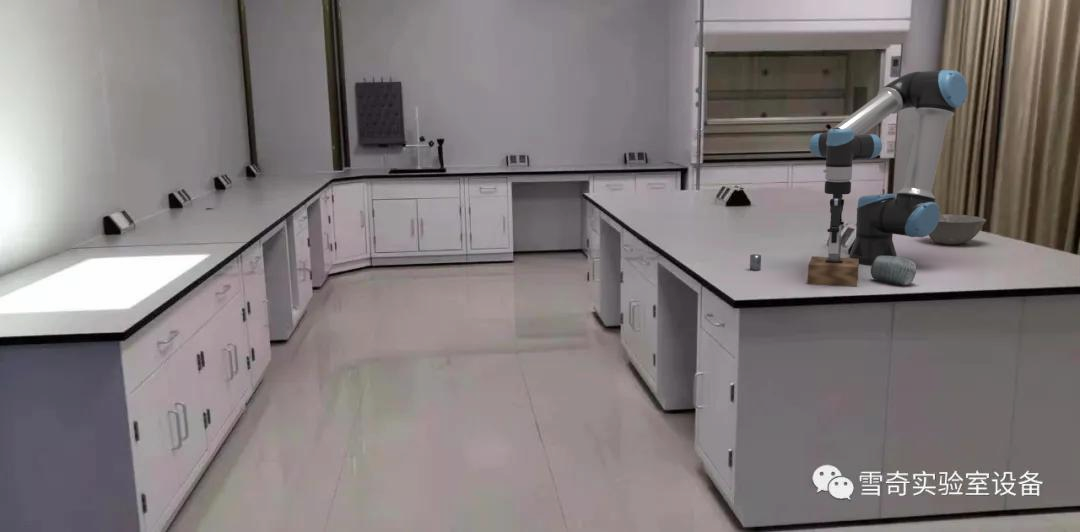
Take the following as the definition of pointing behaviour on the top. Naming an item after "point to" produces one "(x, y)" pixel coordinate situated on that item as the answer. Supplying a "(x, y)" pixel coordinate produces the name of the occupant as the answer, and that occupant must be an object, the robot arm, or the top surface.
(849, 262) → the socket block
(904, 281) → the spool
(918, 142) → the robot arm
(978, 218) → the ceramic bowl
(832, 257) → the long pin
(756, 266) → the short pin
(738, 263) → the top surface
